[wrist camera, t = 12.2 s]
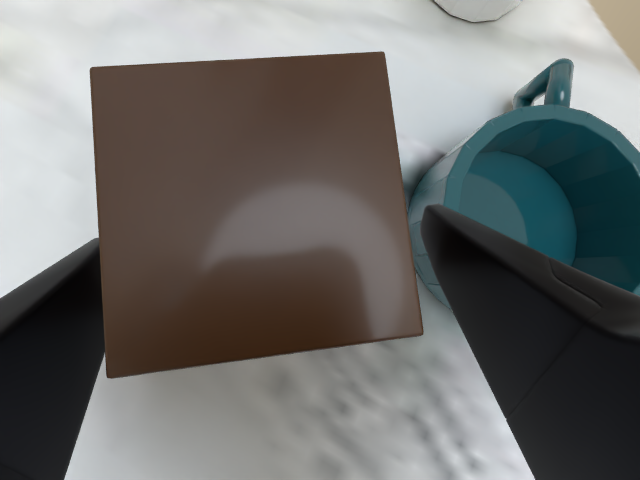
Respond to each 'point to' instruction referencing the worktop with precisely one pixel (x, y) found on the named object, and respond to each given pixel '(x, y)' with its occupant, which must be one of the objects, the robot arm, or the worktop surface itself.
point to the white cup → (478, 8)
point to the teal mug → (543, 185)
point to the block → (249, 210)
